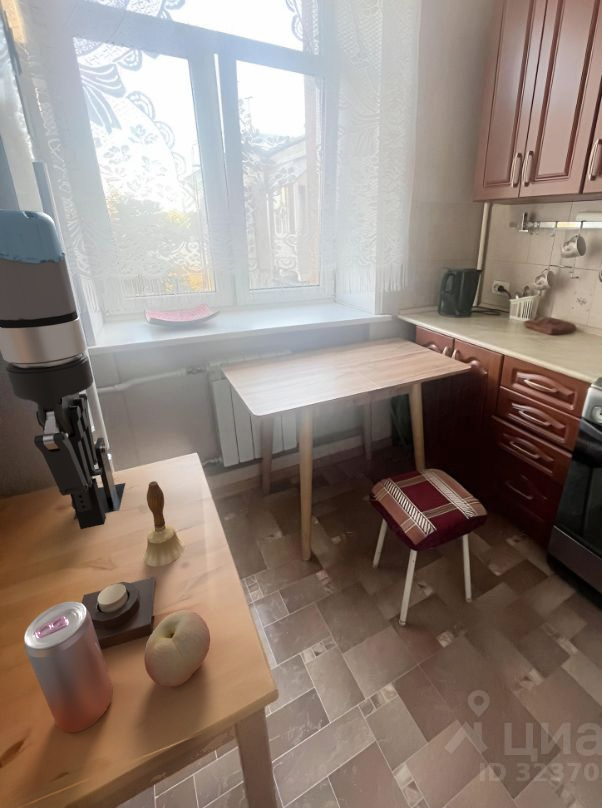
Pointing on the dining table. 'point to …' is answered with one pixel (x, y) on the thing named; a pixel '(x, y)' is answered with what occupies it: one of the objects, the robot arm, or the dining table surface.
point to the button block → (124, 614)
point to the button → (112, 598)
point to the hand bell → (160, 532)
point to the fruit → (176, 648)
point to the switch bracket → (107, 480)
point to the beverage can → (69, 665)
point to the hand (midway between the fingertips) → (93, 523)
